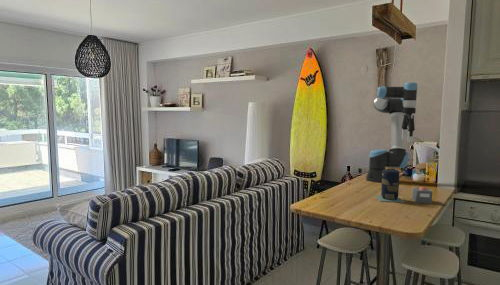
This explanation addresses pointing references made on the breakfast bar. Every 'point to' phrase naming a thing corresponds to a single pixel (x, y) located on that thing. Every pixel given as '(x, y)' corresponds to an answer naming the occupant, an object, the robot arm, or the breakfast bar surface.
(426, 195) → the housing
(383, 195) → the canister
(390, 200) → the mat
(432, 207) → the breakfast bar surface
